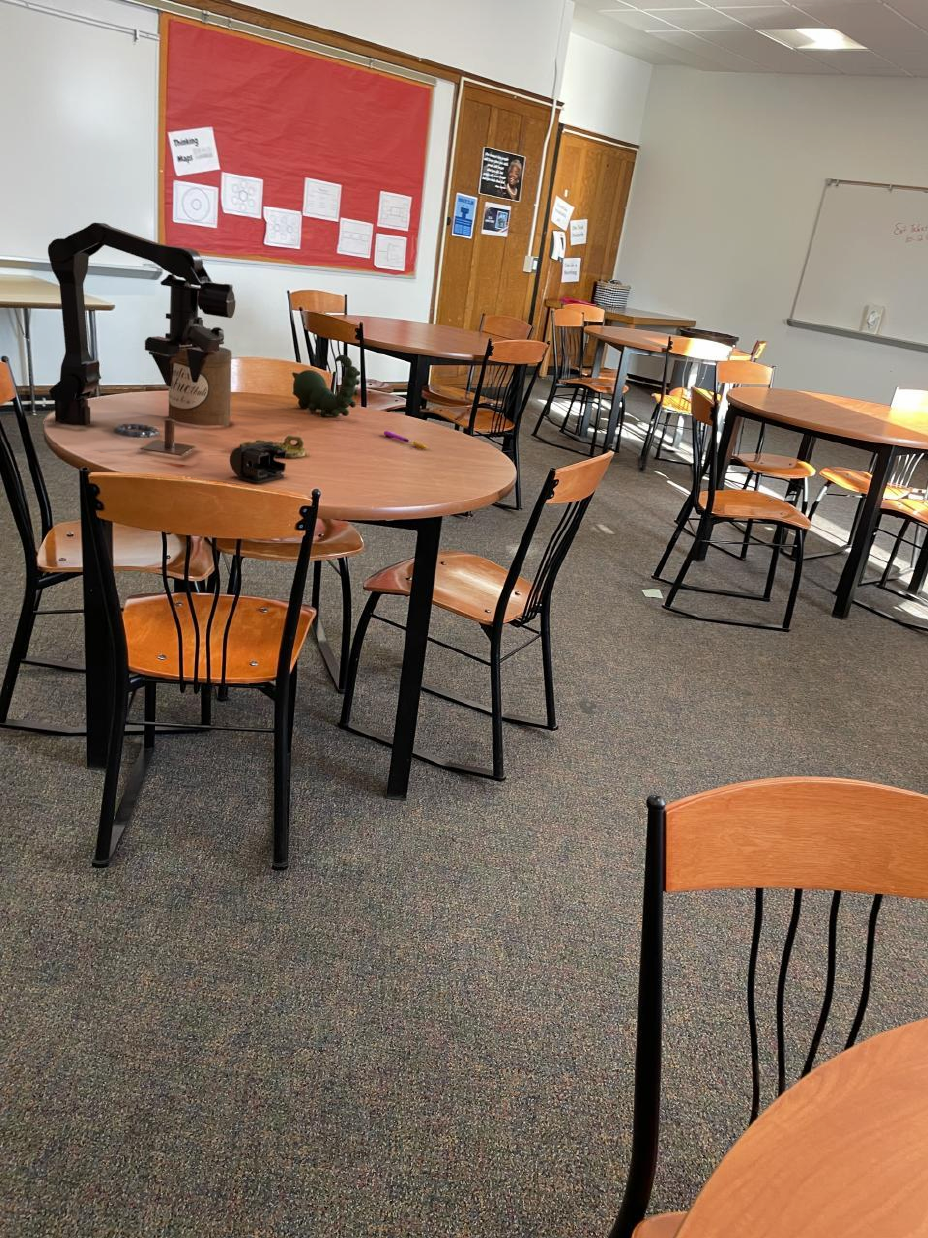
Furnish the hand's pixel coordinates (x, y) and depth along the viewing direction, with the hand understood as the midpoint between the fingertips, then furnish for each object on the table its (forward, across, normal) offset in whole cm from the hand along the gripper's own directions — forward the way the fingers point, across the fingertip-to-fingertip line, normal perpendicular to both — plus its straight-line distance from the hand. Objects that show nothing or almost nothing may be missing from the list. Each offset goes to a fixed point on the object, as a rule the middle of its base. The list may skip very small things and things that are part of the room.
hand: (182, 384), depth 199 cm
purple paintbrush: (+13, +51, -34) cm, 62 cm away
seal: (+13, +10, -18) cm, 25 cm away
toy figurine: (+13, +62, -2) cm, 63 cm away
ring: (+12, -3, +10) cm, 16 cm away
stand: (+13, -8, -3) cm, 16 cm away
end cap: (+13, -10, -27) cm, 31 cm away
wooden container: (+14, +22, +11) cm, 28 cm away
